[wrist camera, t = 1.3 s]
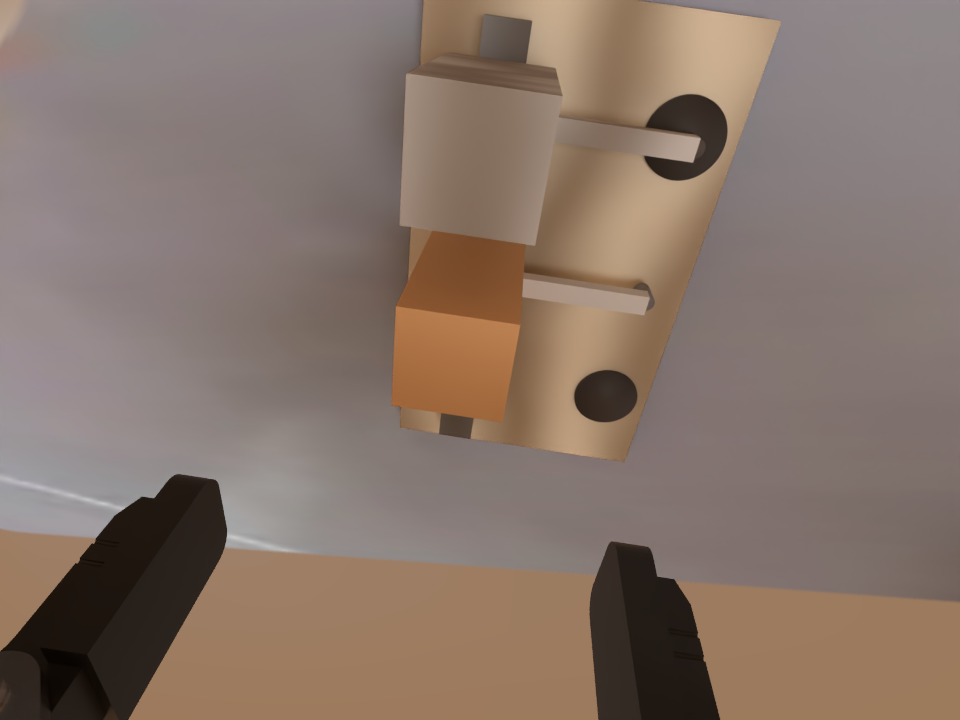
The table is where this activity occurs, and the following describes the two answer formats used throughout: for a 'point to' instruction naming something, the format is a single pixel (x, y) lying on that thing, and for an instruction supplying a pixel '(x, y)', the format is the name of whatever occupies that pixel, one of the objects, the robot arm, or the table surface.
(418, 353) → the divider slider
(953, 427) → the table surface
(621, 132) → the pitch plate
